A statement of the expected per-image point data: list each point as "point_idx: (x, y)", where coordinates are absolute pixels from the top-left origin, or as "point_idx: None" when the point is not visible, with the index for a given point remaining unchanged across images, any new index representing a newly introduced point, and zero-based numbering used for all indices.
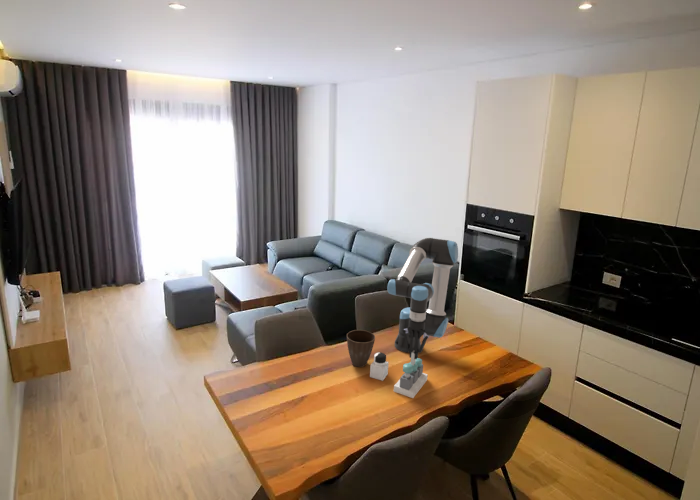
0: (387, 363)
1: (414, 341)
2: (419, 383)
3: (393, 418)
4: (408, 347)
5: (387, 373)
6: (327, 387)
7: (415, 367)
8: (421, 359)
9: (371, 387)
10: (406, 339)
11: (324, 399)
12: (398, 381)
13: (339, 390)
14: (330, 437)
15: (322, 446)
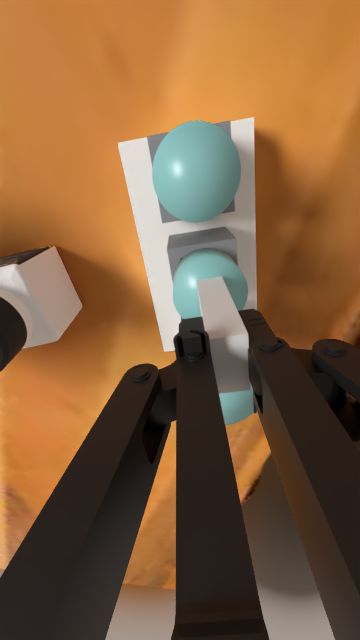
0: (27, 284)
1: (232, 467)
2: (250, 257)
3: (242, 434)
4: (166, 434)
5: (54, 251)
6: (2, 443)
7: (240, 306)
8: (220, 129)
9: (89, 367)
10: (101, 596)
11: (50, 475)
12: (158, 312)
13: (37, 434)
14: (166, 527)
15: (171, 541)
